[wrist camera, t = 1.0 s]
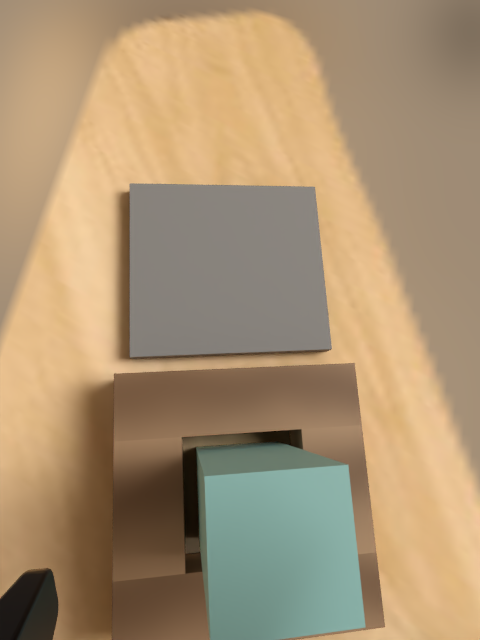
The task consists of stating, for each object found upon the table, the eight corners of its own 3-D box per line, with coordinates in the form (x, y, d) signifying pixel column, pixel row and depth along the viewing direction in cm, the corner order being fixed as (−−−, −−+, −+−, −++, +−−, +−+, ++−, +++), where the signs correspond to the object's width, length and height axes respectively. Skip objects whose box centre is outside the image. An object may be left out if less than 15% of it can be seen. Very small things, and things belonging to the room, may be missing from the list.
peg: (283, 528, 21) (365, 627, 12) (198, 537, 21) (210, 648, 11) (277, 441, 22) (347, 464, 13) (195, 446, 22) (204, 476, 12)
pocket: (361, 602, 21) (384, 627, 19) (121, 633, 19) (111, 665, 17) (337, 368, 24) (354, 363, 21) (122, 378, 22) (114, 373, 19)
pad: (327, 351, 24) (331, 349, 23) (131, 358, 22) (129, 357, 21) (310, 193, 26) (314, 186, 25) (131, 190, 24) (129, 183, 23)
